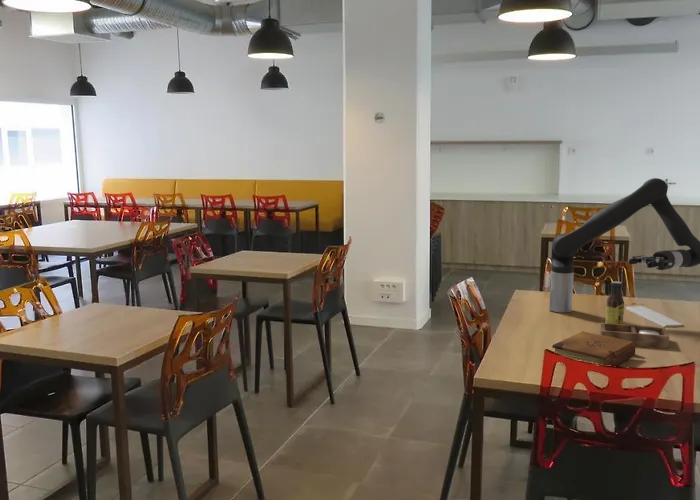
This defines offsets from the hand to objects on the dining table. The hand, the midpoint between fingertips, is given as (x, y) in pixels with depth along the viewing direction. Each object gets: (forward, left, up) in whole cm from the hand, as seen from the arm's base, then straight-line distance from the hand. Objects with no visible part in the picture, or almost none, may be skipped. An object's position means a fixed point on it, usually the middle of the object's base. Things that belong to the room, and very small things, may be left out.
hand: (638, 263), depth 252 cm
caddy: (-2, -19, -26) cm, 32 cm away
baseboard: (+8, +22, -27) cm, 36 cm away
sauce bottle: (-8, -8, -26) cm, 29 cm away
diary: (-16, -42, -27) cm, 52 cm away
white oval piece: (+3, -19, -25) cm, 32 cm away
